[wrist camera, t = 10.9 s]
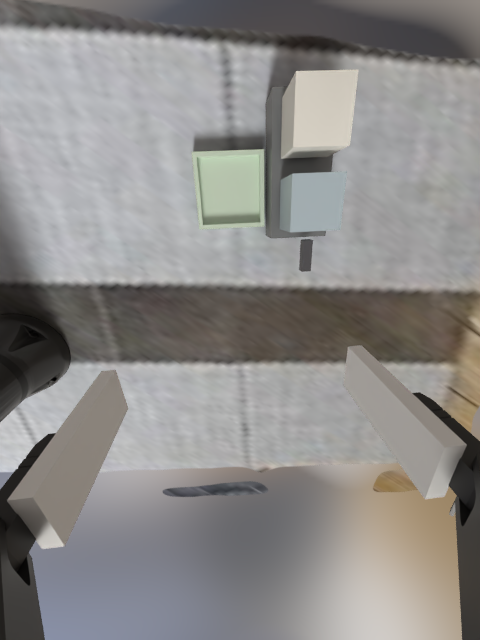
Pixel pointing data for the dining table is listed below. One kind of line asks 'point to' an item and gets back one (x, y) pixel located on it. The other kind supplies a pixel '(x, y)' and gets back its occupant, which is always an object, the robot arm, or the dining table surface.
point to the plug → (318, 113)
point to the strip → (283, 167)
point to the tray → (229, 188)
